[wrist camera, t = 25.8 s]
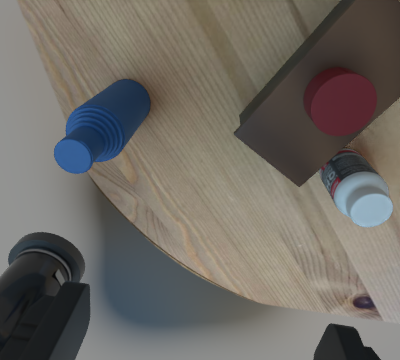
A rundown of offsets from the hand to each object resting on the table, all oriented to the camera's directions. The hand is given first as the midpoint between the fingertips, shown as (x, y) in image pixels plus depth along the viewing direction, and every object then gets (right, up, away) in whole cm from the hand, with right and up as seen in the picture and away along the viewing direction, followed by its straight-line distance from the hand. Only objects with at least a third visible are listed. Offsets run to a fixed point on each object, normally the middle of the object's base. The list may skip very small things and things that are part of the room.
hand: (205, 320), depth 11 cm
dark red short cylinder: (+12, +12, +19) cm, 26 cm away
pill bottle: (+17, +6, +30) cm, 35 cm away
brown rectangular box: (+12, +15, +25) cm, 32 cm away
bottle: (-9, +14, +27) cm, 32 cm away
